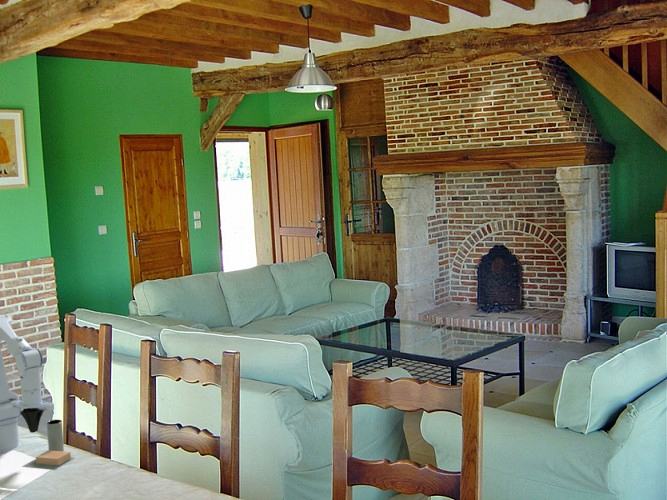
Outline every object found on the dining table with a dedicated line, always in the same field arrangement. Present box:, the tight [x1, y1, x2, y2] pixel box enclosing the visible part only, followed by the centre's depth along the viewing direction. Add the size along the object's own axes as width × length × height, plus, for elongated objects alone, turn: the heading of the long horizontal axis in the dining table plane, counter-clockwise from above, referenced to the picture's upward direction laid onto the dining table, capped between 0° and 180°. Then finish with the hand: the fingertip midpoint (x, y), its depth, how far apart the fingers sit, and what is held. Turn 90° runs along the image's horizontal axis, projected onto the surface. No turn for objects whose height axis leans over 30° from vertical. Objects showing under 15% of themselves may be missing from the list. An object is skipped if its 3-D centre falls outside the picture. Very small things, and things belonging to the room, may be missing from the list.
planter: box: [46, 419, 65, 452], centre depth 239 cm, size 4×4×10 cm
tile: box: [35, 449, 72, 466], centre depth 230 cm, size 2×6×8 cm
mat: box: [21, 456, 76, 471], centre depth 230 cm, size 12×10×1 cm
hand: (33, 431), depth 231 cm, fingers closed
